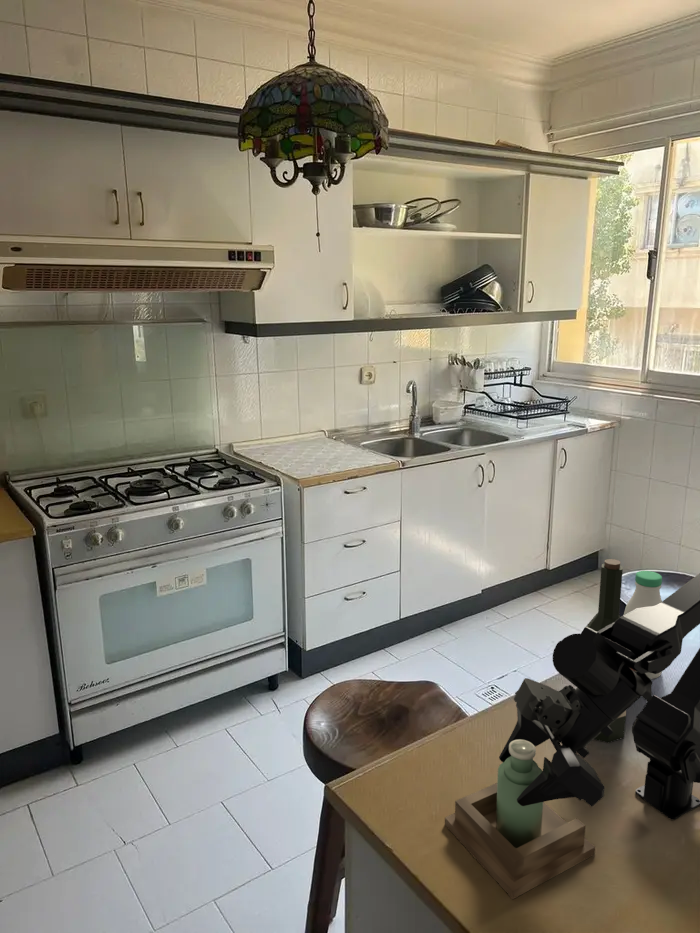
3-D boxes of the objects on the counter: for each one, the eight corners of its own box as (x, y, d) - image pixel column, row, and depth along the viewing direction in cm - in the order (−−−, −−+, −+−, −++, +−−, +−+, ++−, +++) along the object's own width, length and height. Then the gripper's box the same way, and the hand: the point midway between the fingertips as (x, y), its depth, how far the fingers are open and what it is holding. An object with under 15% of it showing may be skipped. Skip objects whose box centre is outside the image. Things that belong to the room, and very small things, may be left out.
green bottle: (519, 809, 96) (523, 728, 93) (550, 837, 91) (556, 752, 88) (486, 825, 94) (489, 742, 90) (516, 855, 88) (520, 768, 85)
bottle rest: (521, 789, 102) (522, 765, 101) (594, 854, 90) (596, 827, 89) (444, 824, 95) (445, 799, 94) (512, 899, 83) (513, 870, 82)
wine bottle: (634, 742, 112) (649, 571, 105) (582, 742, 112) (594, 572, 105) (615, 712, 120) (629, 552, 113) (568, 712, 120) (578, 552, 113)
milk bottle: (626, 656, 139) (634, 563, 134) (666, 668, 134) (676, 573, 129) (613, 672, 133) (621, 576, 128) (655, 685, 128) (664, 586, 123)
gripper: (532, 630, 96) (453, 704, 98) (584, 708, 78) (486, 796, 80) (584, 677, 98) (505, 749, 100) (646, 764, 80) (549, 849, 82)
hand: (509, 781), depth 90 cm, fingers open, 8 cm apart
